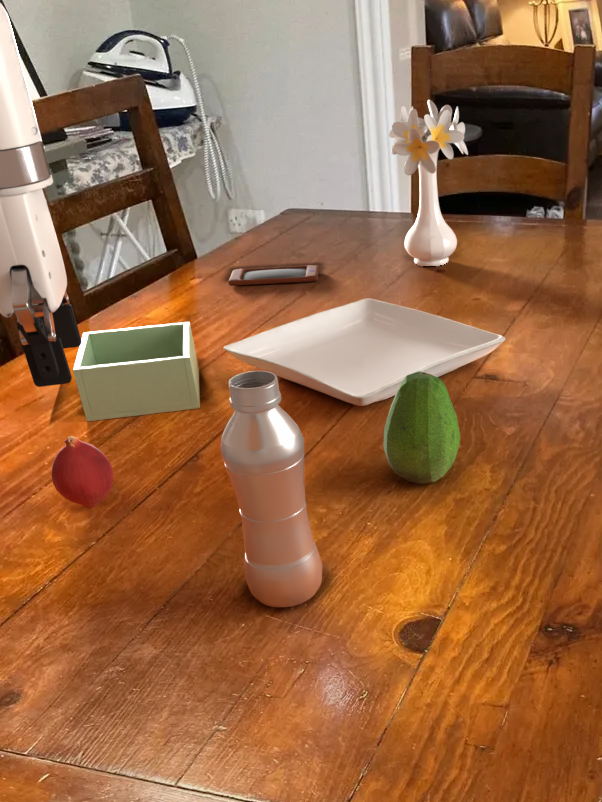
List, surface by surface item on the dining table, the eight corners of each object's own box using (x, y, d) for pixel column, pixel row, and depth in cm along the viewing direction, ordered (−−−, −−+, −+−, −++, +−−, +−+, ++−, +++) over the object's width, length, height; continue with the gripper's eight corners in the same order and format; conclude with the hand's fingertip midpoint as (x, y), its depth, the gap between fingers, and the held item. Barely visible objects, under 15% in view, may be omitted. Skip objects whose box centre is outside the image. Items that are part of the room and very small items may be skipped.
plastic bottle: (339, 599, 82) (312, 381, 70) (268, 626, 79) (228, 404, 67) (305, 566, 86) (275, 357, 74) (237, 591, 83) (194, 377, 71)
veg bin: (86, 421, 114) (72, 370, 110) (95, 380, 125) (82, 332, 121) (199, 408, 116) (189, 357, 113) (199, 369, 127) (189, 321, 123)
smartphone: (316, 276, 158) (227, 280, 157) (317, 281, 158) (228, 286, 158) (318, 264, 163) (232, 268, 163) (319, 269, 164) (233, 274, 163)
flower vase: (395, 280, 158) (385, 115, 143) (398, 250, 173) (388, 98, 158) (472, 277, 158) (469, 112, 143) (468, 247, 173) (465, 95, 158)
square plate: (362, 426, 111) (359, 395, 108) (223, 372, 126) (218, 344, 124) (508, 359, 127) (508, 331, 124) (369, 319, 142) (367, 293, 140)
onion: (75, 493, 99) (54, 423, 95) (128, 492, 99) (109, 422, 94) (54, 521, 94) (31, 449, 90) (110, 520, 94) (90, 448, 90)
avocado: (454, 499, 95) (450, 388, 89) (379, 494, 97) (370, 385, 90) (466, 463, 102) (464, 357, 95) (396, 460, 103) (389, 354, 96)
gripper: (-27, 155, 85) (31, 339, 95) (-69, 194, 71) (4, 405, 81) (59, 148, 86) (107, 330, 96) (34, 185, 72) (93, 394, 82)
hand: (60, 364), depth 88 cm, fingers open, 9 cm apart
